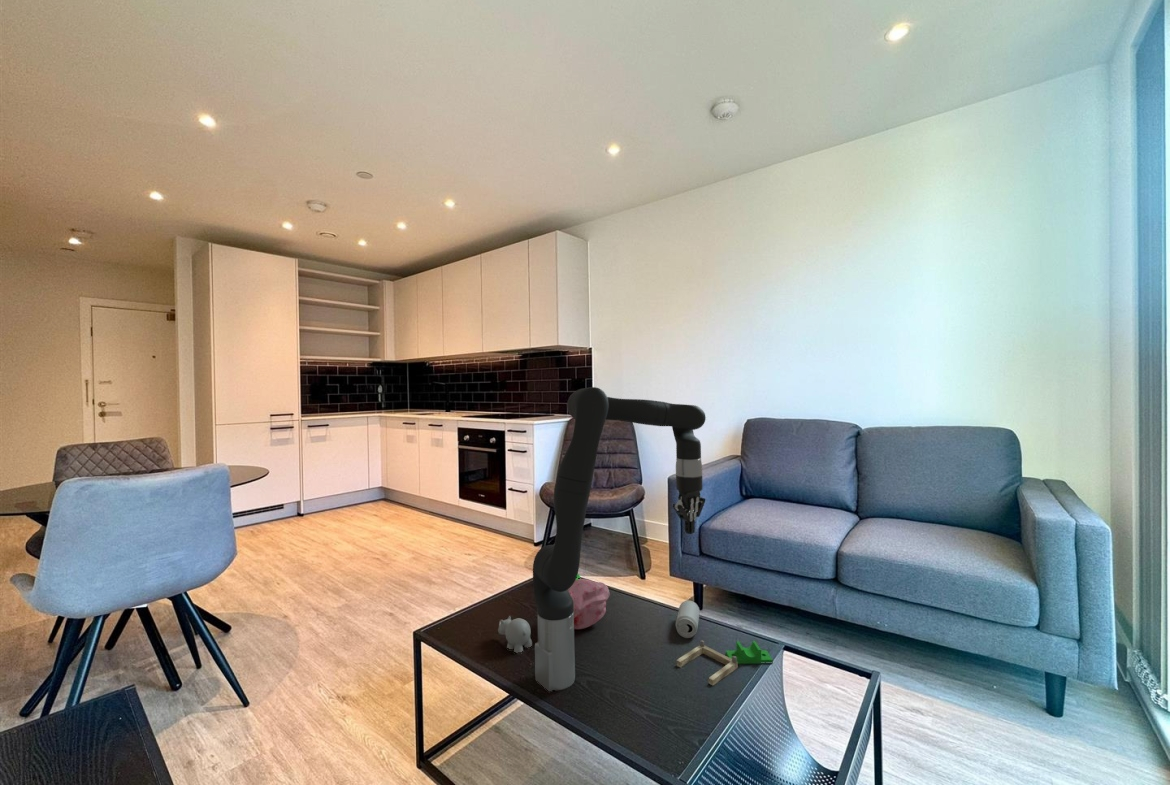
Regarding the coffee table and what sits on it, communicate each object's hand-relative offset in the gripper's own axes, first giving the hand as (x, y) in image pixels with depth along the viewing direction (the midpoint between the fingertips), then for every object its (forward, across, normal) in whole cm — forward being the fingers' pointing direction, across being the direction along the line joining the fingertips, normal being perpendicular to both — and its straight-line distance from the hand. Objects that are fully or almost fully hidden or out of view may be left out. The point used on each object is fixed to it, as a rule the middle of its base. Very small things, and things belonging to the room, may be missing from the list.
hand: (690, 532), depth 131 cm
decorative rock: (+32, -18, +29) cm, 47 cm away
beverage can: (+29, +11, +9) cm, 32 cm away
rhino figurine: (+32, -40, +34) cm, 61 cm away
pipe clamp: (+29, +6, -11) cm, 32 cm away
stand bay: (+32, -7, -10) cm, 34 cm away
